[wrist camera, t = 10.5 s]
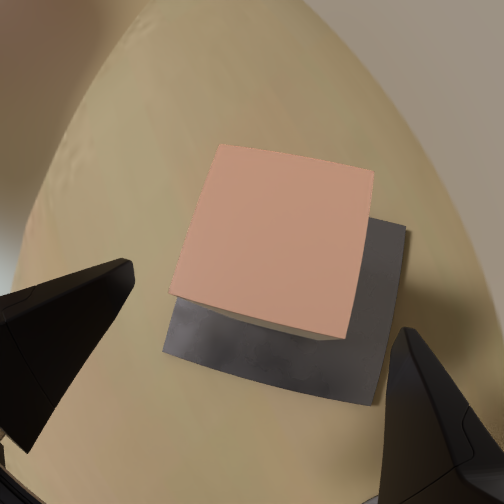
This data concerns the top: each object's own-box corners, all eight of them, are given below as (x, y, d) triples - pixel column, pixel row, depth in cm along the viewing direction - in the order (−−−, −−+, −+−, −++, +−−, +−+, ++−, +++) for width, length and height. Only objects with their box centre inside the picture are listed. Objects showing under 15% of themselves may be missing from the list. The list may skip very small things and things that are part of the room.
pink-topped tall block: (318, 340, 20) (345, 338, 9) (237, 320, 21) (168, 293, 10) (336, 260, 21) (374, 171, 10) (259, 242, 23) (219, 144, 11)
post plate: (368, 404, 19) (386, 419, 14) (165, 351, 22) (135, 351, 18) (403, 229, 22) (424, 203, 17) (214, 190, 25) (198, 159, 21)
